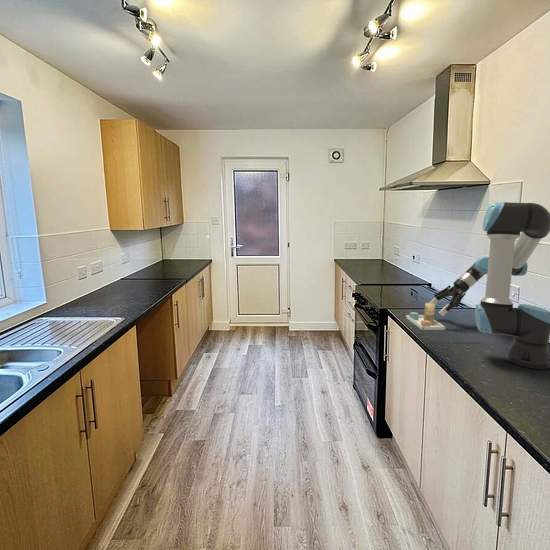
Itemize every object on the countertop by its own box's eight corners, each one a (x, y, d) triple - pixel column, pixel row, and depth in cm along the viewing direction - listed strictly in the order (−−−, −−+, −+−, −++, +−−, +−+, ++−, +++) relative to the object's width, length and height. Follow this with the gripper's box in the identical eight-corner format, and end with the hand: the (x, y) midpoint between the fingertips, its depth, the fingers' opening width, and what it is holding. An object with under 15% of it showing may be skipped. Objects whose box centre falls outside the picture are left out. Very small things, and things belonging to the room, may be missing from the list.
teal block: (418, 320, 203) (418, 314, 202) (412, 320, 202) (412, 314, 202) (415, 318, 206) (416, 312, 205) (409, 318, 206) (410, 312, 205)
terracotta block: (430, 328, 188) (430, 322, 187) (423, 328, 188) (424, 322, 187) (427, 326, 191) (427, 320, 191) (420, 326, 191) (421, 320, 191)
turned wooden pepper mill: (435, 324, 195) (437, 304, 193) (425, 324, 194) (427, 304, 192) (430, 322, 200) (432, 302, 198) (421, 322, 199) (423, 302, 197)
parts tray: (445, 331, 187) (445, 326, 187) (421, 331, 187) (422, 326, 186) (426, 319, 208) (426, 315, 207) (405, 319, 207) (405, 315, 207)
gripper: (483, 293, 181) (451, 322, 183) (455, 283, 206) (427, 309, 208) (474, 282, 180) (441, 312, 182) (447, 274, 205) (419, 300, 206)
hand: (434, 310), depth 195 cm, fingers open, 13 cm apart
